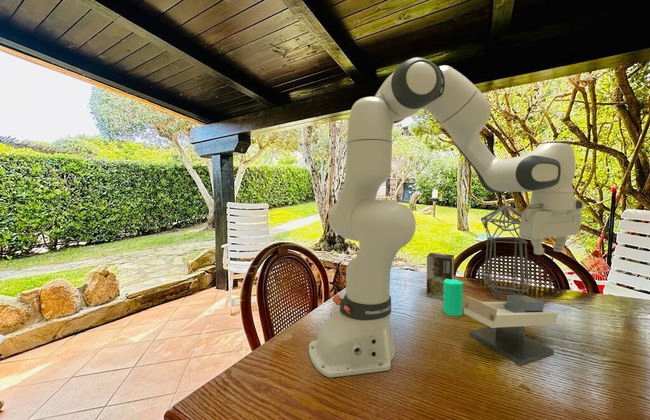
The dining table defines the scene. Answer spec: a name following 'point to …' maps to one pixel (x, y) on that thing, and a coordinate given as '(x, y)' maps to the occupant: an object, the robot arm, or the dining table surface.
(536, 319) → the beam
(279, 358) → the dining table surface
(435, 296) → the coffee box
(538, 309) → the block
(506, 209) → the geometric lantern
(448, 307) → the candle
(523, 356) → the pivot stand
